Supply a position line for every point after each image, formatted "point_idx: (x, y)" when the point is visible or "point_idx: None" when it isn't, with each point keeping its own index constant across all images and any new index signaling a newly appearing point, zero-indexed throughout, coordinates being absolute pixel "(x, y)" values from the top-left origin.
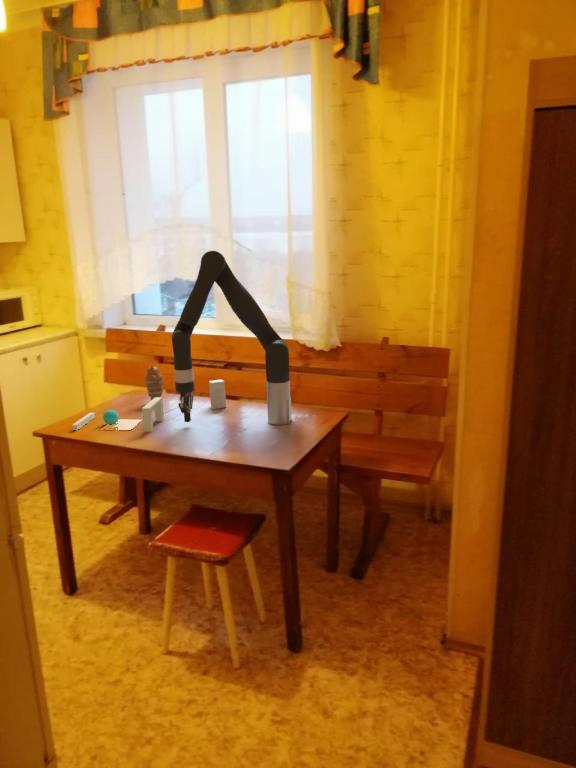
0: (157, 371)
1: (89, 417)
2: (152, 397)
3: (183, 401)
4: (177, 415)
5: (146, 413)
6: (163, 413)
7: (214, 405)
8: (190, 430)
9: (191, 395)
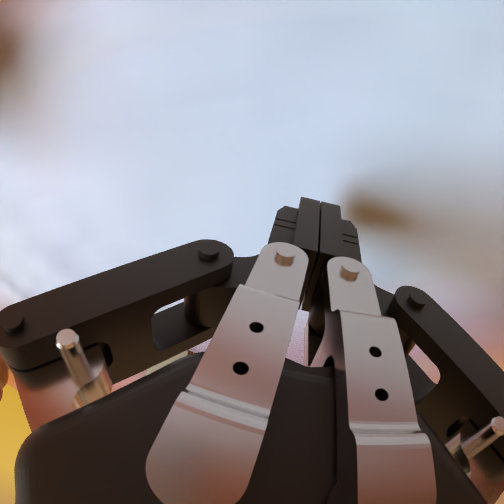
0: None
1: None
2: (7, 370)
3: (495, 489)
4: (81, 279)
5: None
6: (147, 372)
7: None
8: (428, 179)
9: (184, 496)
